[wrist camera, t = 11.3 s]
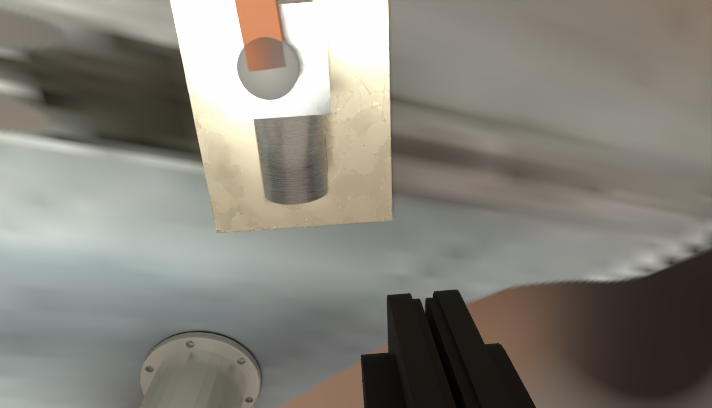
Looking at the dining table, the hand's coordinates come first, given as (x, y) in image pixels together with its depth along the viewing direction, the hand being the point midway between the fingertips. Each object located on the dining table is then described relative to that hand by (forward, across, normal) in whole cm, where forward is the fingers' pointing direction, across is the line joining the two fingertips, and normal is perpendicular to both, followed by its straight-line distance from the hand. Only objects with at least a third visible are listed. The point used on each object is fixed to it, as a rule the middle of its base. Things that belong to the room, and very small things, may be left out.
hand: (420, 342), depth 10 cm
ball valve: (+29, +5, -5) cm, 30 cm away
